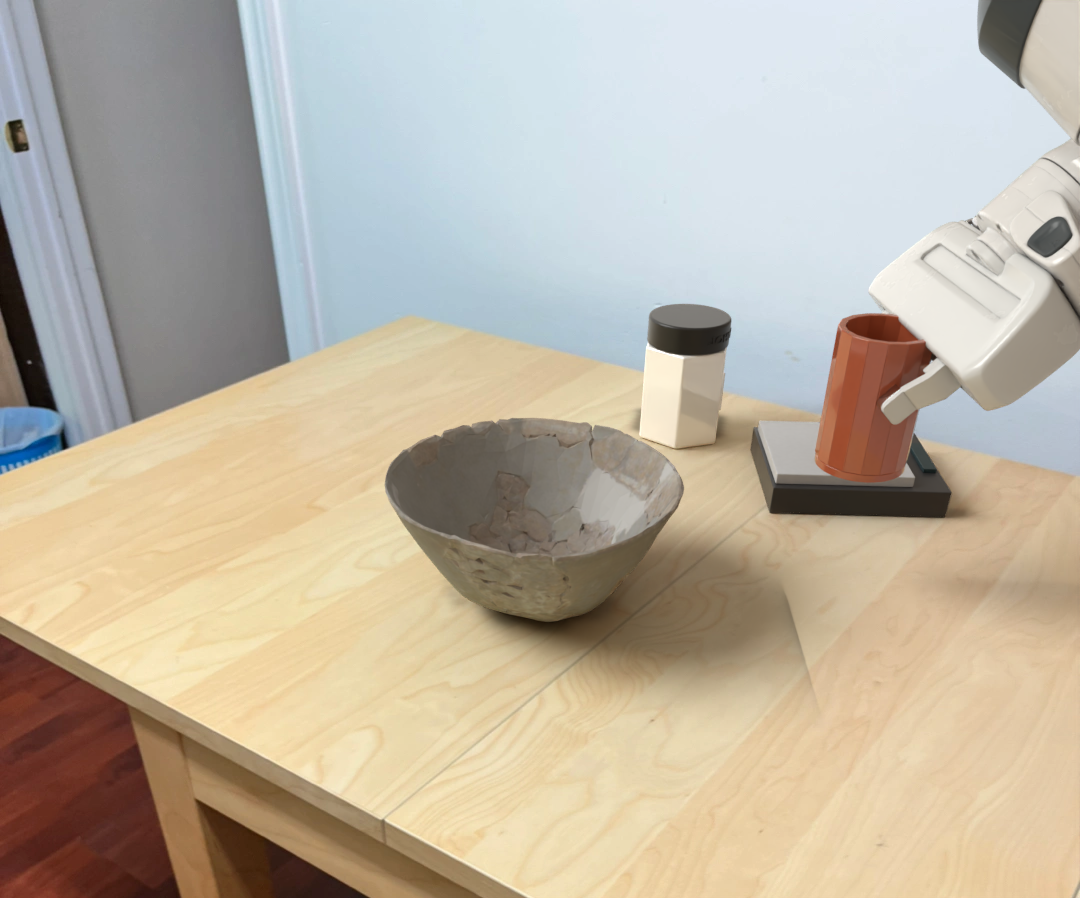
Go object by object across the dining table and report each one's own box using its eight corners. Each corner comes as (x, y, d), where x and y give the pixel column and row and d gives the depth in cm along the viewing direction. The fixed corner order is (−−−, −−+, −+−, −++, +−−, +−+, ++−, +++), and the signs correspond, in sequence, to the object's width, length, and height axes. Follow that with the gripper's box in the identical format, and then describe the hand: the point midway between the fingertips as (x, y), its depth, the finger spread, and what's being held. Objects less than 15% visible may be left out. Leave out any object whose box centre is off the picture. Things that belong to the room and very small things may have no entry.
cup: (892, 446, 81) (923, 313, 74) (914, 483, 75) (949, 345, 69) (807, 444, 81) (830, 312, 74) (822, 481, 76) (849, 343, 69)
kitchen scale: (907, 454, 106) (915, 421, 104) (945, 517, 95) (955, 482, 93) (750, 450, 106) (754, 417, 104) (769, 513, 95) (775, 477, 93)
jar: (715, 453, 105) (730, 333, 98) (635, 446, 106) (644, 326, 99) (720, 419, 112) (734, 305, 105) (644, 413, 113) (653, 299, 106)
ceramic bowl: (458, 704, 72) (452, 579, 66) (357, 555, 88) (345, 442, 82) (729, 632, 79) (746, 513, 73) (590, 506, 96) (595, 400, 89)
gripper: (955, 176, 76) (801, 316, 81) (1092, 251, 60) (889, 418, 65) (997, 241, 79) (846, 371, 84) (1138, 329, 63) (940, 482, 68)
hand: (865, 393), depth 75 cm, fingers closed on cup, 7 cm apart
